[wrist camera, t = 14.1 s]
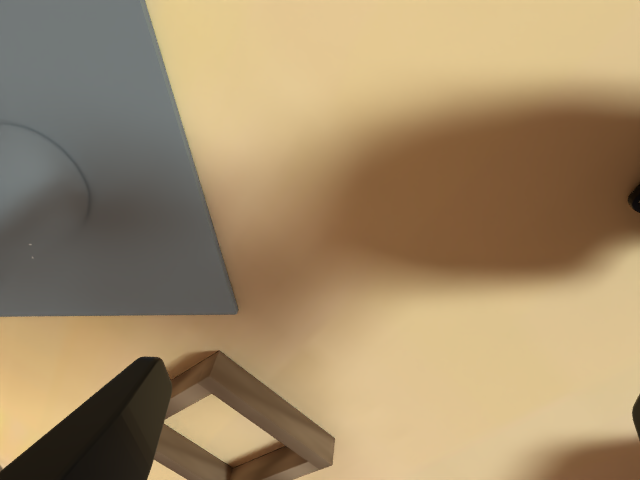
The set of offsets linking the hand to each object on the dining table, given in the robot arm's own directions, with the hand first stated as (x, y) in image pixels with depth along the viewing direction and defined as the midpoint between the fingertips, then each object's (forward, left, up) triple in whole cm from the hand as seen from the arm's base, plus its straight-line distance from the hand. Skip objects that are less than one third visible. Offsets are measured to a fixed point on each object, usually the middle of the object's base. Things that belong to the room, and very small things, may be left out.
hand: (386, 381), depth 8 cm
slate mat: (+15, +10, -13) cm, 22 cm away
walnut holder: (0, +25, -13) cm, 28 cm away
